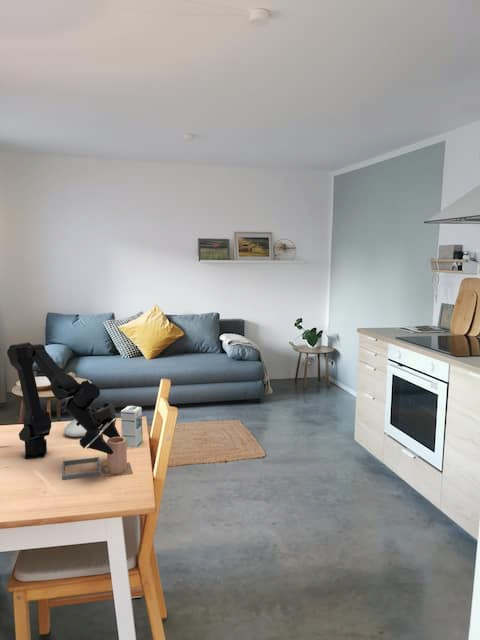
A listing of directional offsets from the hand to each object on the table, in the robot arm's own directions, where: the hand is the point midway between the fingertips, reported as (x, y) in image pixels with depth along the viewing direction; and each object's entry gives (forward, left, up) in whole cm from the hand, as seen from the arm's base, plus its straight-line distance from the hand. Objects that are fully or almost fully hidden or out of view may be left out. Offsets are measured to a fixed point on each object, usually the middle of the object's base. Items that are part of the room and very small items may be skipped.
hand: (117, 447), depth 162 cm
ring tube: (0, 0, -7) cm, 7 cm away
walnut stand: (0, 0, -8) cm, 8 cm away
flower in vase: (-12, +39, -9) cm, 41 cm away
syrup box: (+7, +21, -9) cm, 23 cm away
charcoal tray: (-11, +3, -8) cm, 14 cm away
